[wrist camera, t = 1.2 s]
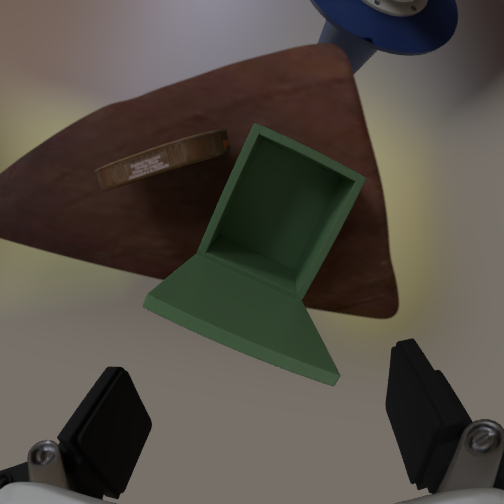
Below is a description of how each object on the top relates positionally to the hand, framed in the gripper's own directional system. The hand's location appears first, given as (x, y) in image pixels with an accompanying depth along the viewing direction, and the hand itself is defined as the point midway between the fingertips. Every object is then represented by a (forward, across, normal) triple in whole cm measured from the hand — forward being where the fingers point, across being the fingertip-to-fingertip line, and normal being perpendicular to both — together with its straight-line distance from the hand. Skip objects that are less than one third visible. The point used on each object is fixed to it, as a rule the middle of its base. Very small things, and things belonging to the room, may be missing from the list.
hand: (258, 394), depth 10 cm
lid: (+12, +2, +2) cm, 13 cm away
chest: (+28, -1, -2) cm, 28 cm away
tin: (+28, +10, -10) cm, 31 cm away
